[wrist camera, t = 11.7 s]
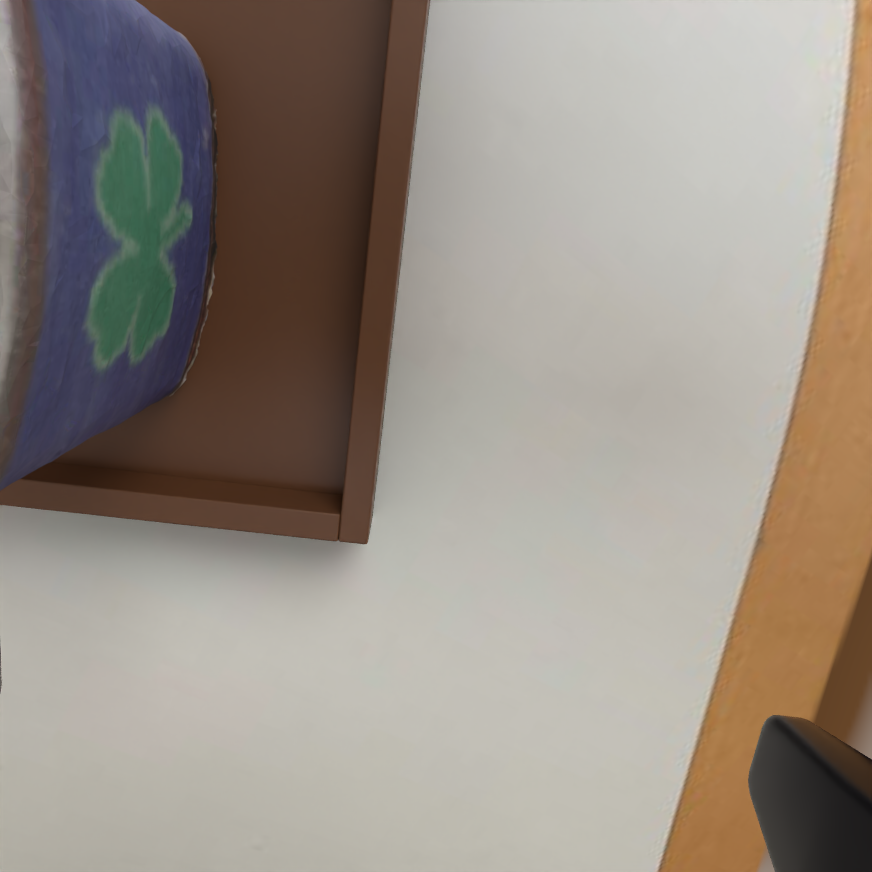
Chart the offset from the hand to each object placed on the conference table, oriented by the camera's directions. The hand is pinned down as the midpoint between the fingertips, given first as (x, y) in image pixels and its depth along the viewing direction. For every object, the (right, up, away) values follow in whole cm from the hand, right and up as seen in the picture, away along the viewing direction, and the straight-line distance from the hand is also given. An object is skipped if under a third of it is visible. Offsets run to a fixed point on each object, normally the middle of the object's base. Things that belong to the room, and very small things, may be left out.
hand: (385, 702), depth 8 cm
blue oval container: (-6, +8, +10) cm, 15 cm away
